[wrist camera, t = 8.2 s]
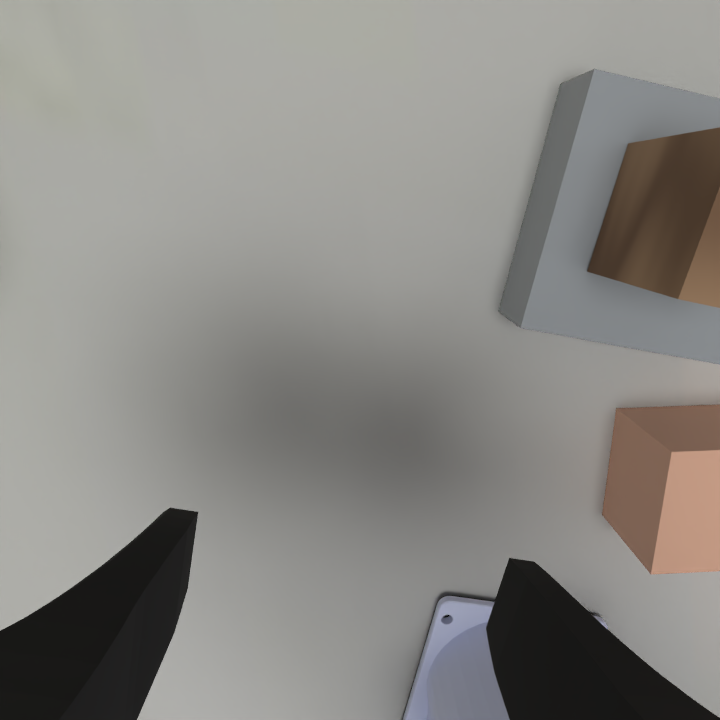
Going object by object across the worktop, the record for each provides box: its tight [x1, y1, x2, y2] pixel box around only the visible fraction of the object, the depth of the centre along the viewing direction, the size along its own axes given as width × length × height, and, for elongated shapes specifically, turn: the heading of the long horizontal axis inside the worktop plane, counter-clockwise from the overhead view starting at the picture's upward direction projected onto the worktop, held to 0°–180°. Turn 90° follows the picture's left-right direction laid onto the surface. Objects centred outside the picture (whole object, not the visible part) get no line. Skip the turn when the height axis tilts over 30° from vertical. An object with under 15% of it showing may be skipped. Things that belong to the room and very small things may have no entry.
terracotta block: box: [602, 405, 720, 574], centre depth 22 cm, size 5×5×4 cm
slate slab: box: [498, 69, 720, 364], centre depth 19 cm, size 8×8×3 cm
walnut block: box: [587, 127, 720, 308], centre depth 15 cm, size 4×4×5 cm
